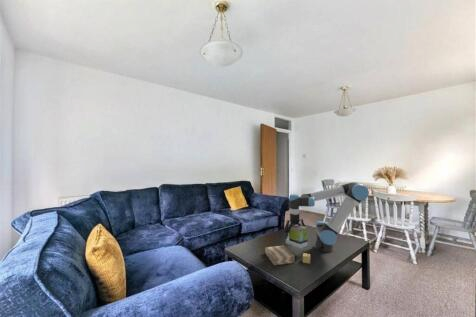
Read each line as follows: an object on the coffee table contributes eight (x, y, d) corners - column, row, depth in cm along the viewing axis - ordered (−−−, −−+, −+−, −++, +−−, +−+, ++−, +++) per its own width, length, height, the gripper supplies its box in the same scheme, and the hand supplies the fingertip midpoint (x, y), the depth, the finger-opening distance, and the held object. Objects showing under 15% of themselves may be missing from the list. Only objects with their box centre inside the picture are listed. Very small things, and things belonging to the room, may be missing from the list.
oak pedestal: (283, 251, 172) (283, 245, 172) (294, 262, 153) (294, 255, 153) (265, 253, 168) (265, 247, 168) (274, 265, 150) (274, 258, 150)
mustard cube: (310, 260, 156) (310, 254, 156) (309, 263, 151) (309, 257, 152) (303, 259, 158) (303, 252, 158) (302, 262, 153) (302, 255, 153)
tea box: (308, 245, 165) (307, 227, 165) (300, 249, 159) (299, 229, 159) (293, 240, 177) (292, 222, 177) (285, 243, 171) (284, 225, 171)
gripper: (305, 211, 175) (306, 236, 175) (279, 213, 170) (279, 239, 170) (310, 213, 168) (311, 239, 168) (282, 215, 163) (283, 243, 163)
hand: (295, 239), depth 169 cm, fingers closed on tea box, 12 cm apart
